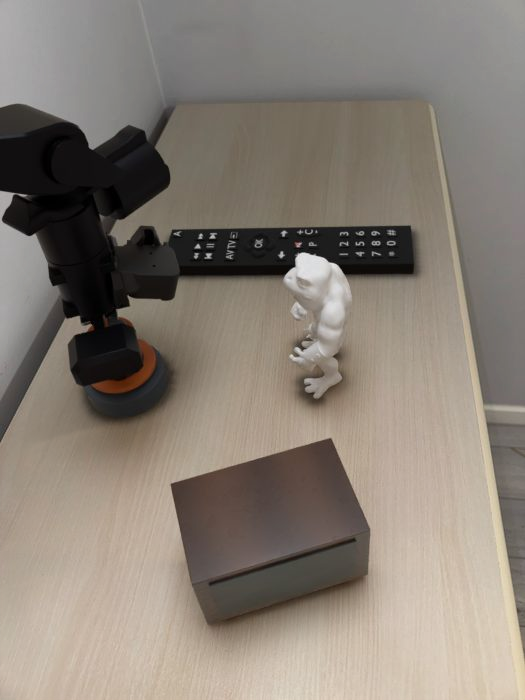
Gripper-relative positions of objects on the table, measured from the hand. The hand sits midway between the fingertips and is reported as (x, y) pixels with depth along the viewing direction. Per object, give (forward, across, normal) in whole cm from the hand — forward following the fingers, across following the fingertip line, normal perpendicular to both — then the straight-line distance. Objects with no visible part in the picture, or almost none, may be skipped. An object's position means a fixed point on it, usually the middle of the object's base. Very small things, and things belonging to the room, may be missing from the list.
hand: (118, 360), depth 72 cm
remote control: (+4, +15, -23) cm, 28 cm away
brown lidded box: (+4, -24, -10) cm, 27 cm away
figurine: (+4, -5, -21) cm, 22 cm away
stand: (+4, 0, 0) cm, 4 cm away
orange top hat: (+1, 0, 0) cm, 1 cm away
